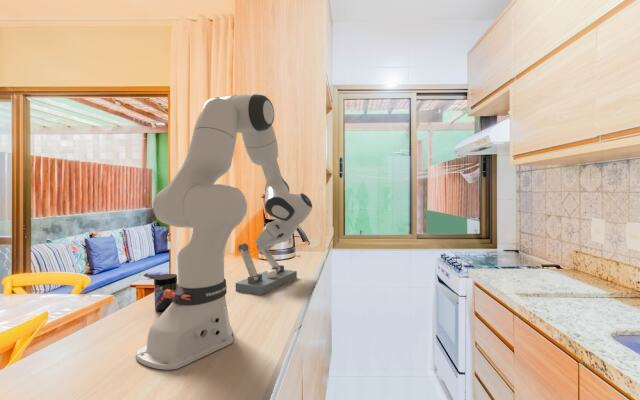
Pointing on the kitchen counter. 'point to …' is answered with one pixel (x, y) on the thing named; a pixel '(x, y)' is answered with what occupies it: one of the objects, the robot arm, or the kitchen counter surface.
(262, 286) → the console
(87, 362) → the kitchen counter surface
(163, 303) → the supplement container
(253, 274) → the grey lever
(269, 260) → the control lever
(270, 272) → the ivory button
